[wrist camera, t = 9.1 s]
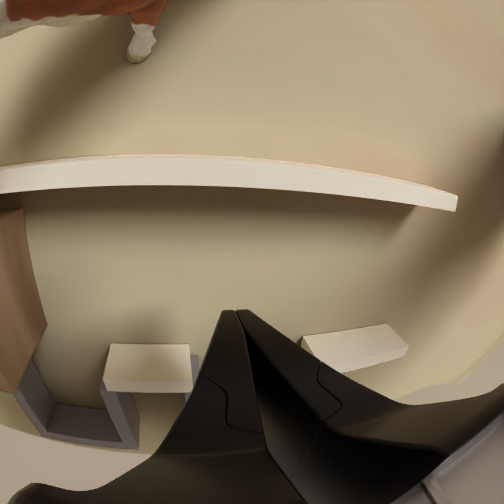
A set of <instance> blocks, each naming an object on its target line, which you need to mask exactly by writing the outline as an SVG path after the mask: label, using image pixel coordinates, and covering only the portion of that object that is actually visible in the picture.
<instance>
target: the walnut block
mask: <svg viewBox="0 0 504 504" xmlns="http://www.w3.org/2000/svg"><path fill="white" fill-rule="evenodd" d="M46 327H47V322H46V318H45V315H44V312H43V308H42V305H41V301H40V298H39V294H38V290H37V286H36V282H35V277H34V273H33V268H32V263H31V258H30V253H29V247H28V241H27V234H26V227H25V219H24V209H23V208H11V209H0V391H4V392H7V393H11V394H15V392H16V389H17V387H18V385H19V382H20V380H21V378H22V375H23V373H24V371H25V369H26V366H27V364H28V362H29V360H30V358H31V356H32V354H33V352H34V350H35V348H36V346H37V344H38V342H39V340H40V338H41V336H42V334H43V332H44V330H45V329H46Z"/></svg>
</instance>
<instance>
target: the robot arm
mask: <svg viewBox="0 0 504 504" xmlns="http://www.w3.org/2000/svg"><path fill="white" fill-rule="evenodd" d="M8 504H504V383H503V384H501V385H499V386H498V387H497V388H496V389H494V390H493V391H491V392H489V393H486V394H483V395H480V396H476V397H471V398H466V399H461V400H454V401H448V402H440V403H432V404H423V405H407V404H401V403H398V402H396V401H394V400H391V399H389V398H387V397H385V396H383V395H381V394H379V393H377V392H375V391H373V390H371V389H369V388H367V387H365V386H363V385H361V384H359V383H357V382H355V381H353V380H352V379H350V378H348V377H346V376H344V375H343V374H341V373H340V372H338V371H336V370H335V369H333V368H332V367H330V366H328V365H327V364H326V363H324V362H321V361H320V360H319V359H318V358H316V357H315V356H313V355H312V354H311V353H309V352H308V351H306V350H305V349H303V348H302V347H300V346H299V345H297V344H296V343H295V342H293V341H292V340H290V339H289V338H287V337H286V336H285V335H283V334H282V333H280V332H279V331H278V330H276V329H275V328H273V327H272V326H271V325H269V324H268V323H266V322H265V321H264V320H262V319H261V318H259V317H258V316H257V315H255V314H254V313H253V312H251V311H250V310H248V309H243V310H236V311H234V310H223V311H222V312H221V314H220V317H219V320H218V322H217V325H216V328H215V330H214V333H213V336H212V338H211V341H210V344H209V347H208V349H207V352H206V355H205V357H204V360H203V363H202V366H201V368H200V371H199V374H198V376H197V379H196V381H195V384H194V386H193V389H192V391H191V393H190V396H189V398H188V399H187V401H186V403H185V405H184V407H183V409H182V411H181V412H180V414H179V416H178V417H177V419H176V420H175V422H174V424H173V425H172V427H171V429H170V430H169V432H168V434H167V435H166V437H165V439H164V440H163V442H162V443H161V445H160V446H159V448H158V449H157V450H156V452H155V453H154V454H153V455H152V456H151V457H150V458H148V459H147V460H145V461H144V462H142V463H141V464H139V465H138V466H136V467H135V468H133V469H131V470H130V471H128V472H126V473H125V474H123V475H121V476H120V477H118V478H116V479H115V480H113V481H111V482H110V483H108V484H106V485H104V486H102V487H99V488H97V489H93V490H88V491H72V490H66V489H62V488H58V487H54V486H50V485H47V484H41V483H31V484H29V485H27V486H26V487H24V488H23V489H21V490H19V491H18V492H17V493H16V494H15V495H13V496H12V498H11V499H10V500H9V502H8Z"/></svg>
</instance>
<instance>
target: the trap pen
mask: <svg viewBox="0 0 504 504" xmlns="http://www.w3.org/2000/svg"><path fill="white" fill-rule="evenodd" d="M122 185H195V186H227V187H248V188H265V189H280V190H293V191H305V192H316V193H326V194H336V195H345V196H354V197H362V198H370V199H378V200H386V201H393V202H400V203H406V204H413V205H419V206H425V207H431V208H437V209H443V210H448V211H453V212H455V210H456V205H457V200H458V196H457V195H454V194H451V193H448V192H445V191H442V190H439V189H436V188H433V187H430V186H427V185H423V184H419V183H414V182H410V181H405V180H401V179H396V178H391V177H386V176H381V175H376V174H371V173H365V172H360V171H354V170H348V169H342V168H335V167H328V166H321V165H314V164H306V163H298V162H290V161H280V160H270V159H259V158H247V157H233V156H215V155H187V154H133V155H106V156H89V157H76V158H64V159H54V160H45V161H37V162H29V163H22V164H15V165H9V166H3V167H0V194H3V193H12V192H21V191H32V190H43V189H57V188H72V187H92V186H122ZM300 347H302V348H303V349H305V350H306V351H308V352H309V353H311V354H312V355H313V356H315V357H316V358H318V359H319V360H320V361H321V362H324V363H326V364H327V365H328V366H330V367H332V368H333V369H335V370H336V371H338V372H340V373H344V372H349V371H353V370H357V369H361V368H365V367H369V366H373V365H377V364H380V363H384V362H388V361H391V360H395V359H398V358H401V357H404V356H405V354H406V352H407V350H408V348H409V345H408V344H407V343H406V342H405V341H404V340H403V339H402V338H401V337H400V336H399V335H398V334H397V333H396V332H395V331H394V330H393V329H392V328H391V327H390V326H389V325H388V324H387V323H386V324H380V325H375V326H369V327H363V328H357V329H351V330H344V331H338V332H331V333H323V334H316V335H308V336H303V337H302V341H301V346H300ZM198 374H199V364H198V356H190V349H189V344H113V343H111V346H110V350H109V354H108V355H107V357H106V361H105V365H104V370H103V374H102V379H101V383H100V388H99V391H100V394H101V396H102V398H103V401H104V403H105V406H106V408H107V410H106V409H95V408H86V407H78V406H71V405H64V404H58V403H54V401H53V399H52V397H51V395H50V394H49V392H48V390H47V388H46V386H45V384H44V382H43V380H42V378H41V376H40V374H39V372H38V370H37V368H36V366H35V364H34V362H33V359H32V357H31V358H30V360H29V362H28V364H27V366H26V369H25V371H24V373H23V375H22V378H21V380H20V382H19V385H18V387H17V389H16V392H15V394H13V395H14V397H15V398H16V400H17V401H18V403H19V404H20V406H21V407H22V409H23V410H24V412H25V413H26V415H27V416H28V418H29V419H30V420H31V422H32V423H33V425H34V426H35V427H36V429H37V430H38V431H39V433H40V434H41V435H42V436H45V437H49V438H54V439H58V440H63V441H69V442H74V443H80V444H87V445H94V446H102V447H111V448H123V449H138V450H139V423H140V418H139V415H138V412H137V409H136V406H135V403H134V399H133V396H132V393H131V392H141V393H185V402H186V401H187V399H188V398H189V396H190V393H191V391H192V389H193V386H194V384H195V381H196V379H197V376H198Z"/></svg>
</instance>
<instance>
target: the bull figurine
mask: <svg viewBox="0 0 504 504" xmlns="http://www.w3.org/2000/svg"><path fill="white" fill-rule="evenodd" d="M167 1H168V0H0V38H3V37H6V36H10V35H12V34H14V33H17V32H19V31H21V30H23V29H26V28H28V27H31V26H34V25H47V26H54V27H60V26H68V25H74V24H77V23H81V22H85V21H90V20H94V19H97V18H99V17H101V16H102V15H105V16H117V15H121V14H125V13H128V12H129V13H130V14H131V16H132V18H133V19H132V21H131V27H132V28H133V30H134V31H135V34H134V36H133V37H132V41H131V43H130V44H129V46H128V47H127V50H126V55H127V59H128V60H129V61H131V62H133V63H138V62H142V61H144V60H146V59H147V58H148V57H149V55H150V53H151V47H152V46H153V45H155V44H156V42H157V40H156V38H155V37H154V35H153V32H152V30H153V29H154V28H155V27H156V25H157V24H158V22H159V18H160V14H161V12H162V11H163V9H164V8H165V6H166V3H167Z"/></svg>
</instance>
